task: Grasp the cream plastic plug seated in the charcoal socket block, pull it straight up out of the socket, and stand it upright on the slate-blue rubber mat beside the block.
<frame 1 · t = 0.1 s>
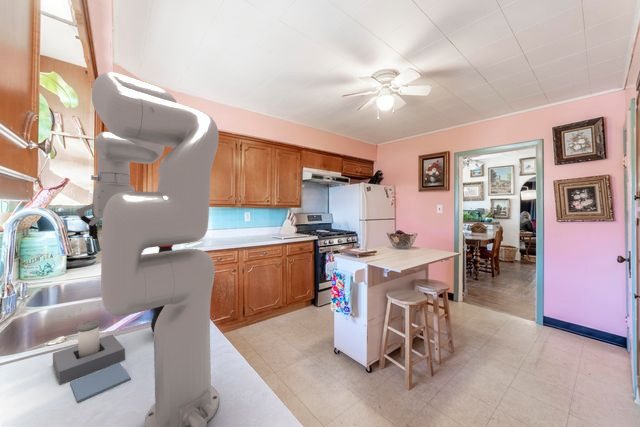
hand: (115, 237, 76), 31 cm above the countertop, tool pointing down, fingers open, 9 cm apart
mat: (100, 381, 58), on the countertop
plug: (89, 343, 65), in the socket block
socket block: (89, 362, 65), on the countertop
cola bottle: (166, 332, 81), on the countertop
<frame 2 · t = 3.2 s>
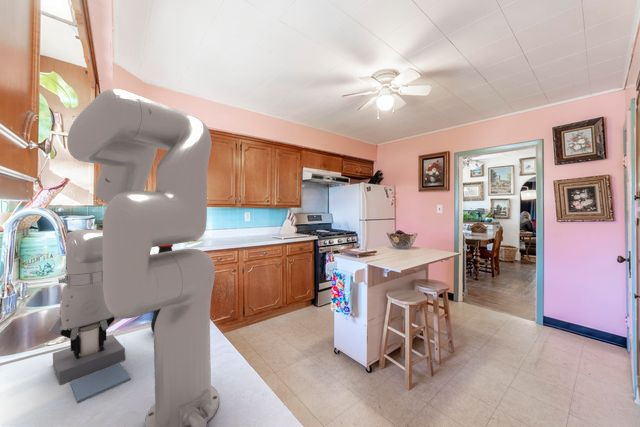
hand: (89, 347, 65), 4 cm above the countertop, tool pointing down, fingers closed on plug, 4 cm apart
plug: (89, 343, 65), in the socket block, touching gripper
everything else where it was.
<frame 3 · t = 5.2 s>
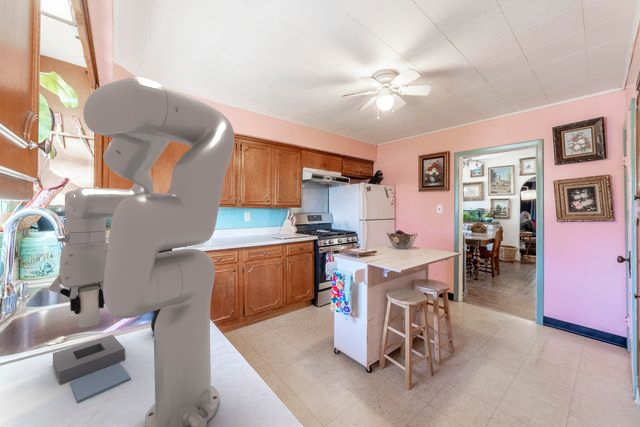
hand: (89, 309, 65), 14 cm above the countertop, tool pointing down, fingers closed on plug, 4 cm apart
plug: (88, 304, 65), point 15 cm above the countertop, touching gripper
everything else where it was.
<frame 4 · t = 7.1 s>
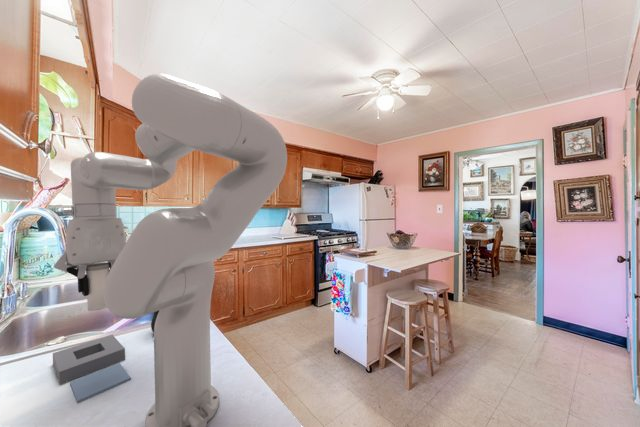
hand: (98, 291, 58), 21 cm above the countertop, tool pointing down, fingers closed on plug, 4 cm apart
plug: (98, 285, 58), point 22 cm above the countertop, touching gripper
everything else where it was.
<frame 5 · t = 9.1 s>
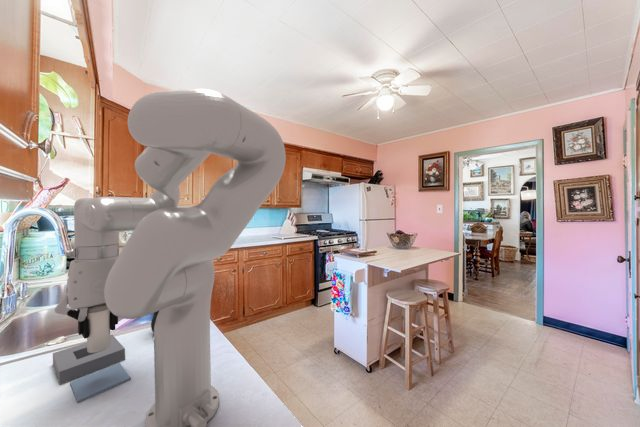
hand: (98, 331, 58), 12 cm above the countertop, tool pointing down, fingers closed on plug, 4 cm apart
plug: (98, 326, 58), point 13 cm above the countertop, touching gripper
everything else where it was.
when the fingers open (6 cm above the countertop, at t = 11.0 s): plug drops 1 cm, resting on mat.
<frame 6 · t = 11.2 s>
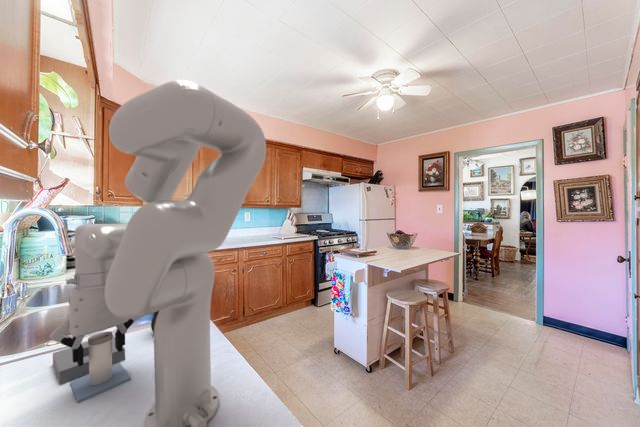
hand: (100, 355, 58), 6 cm above the countertop, tool pointing down, fingers open, 6 cm apart
plug: (100, 357, 58), on the mat
everything else where it was.
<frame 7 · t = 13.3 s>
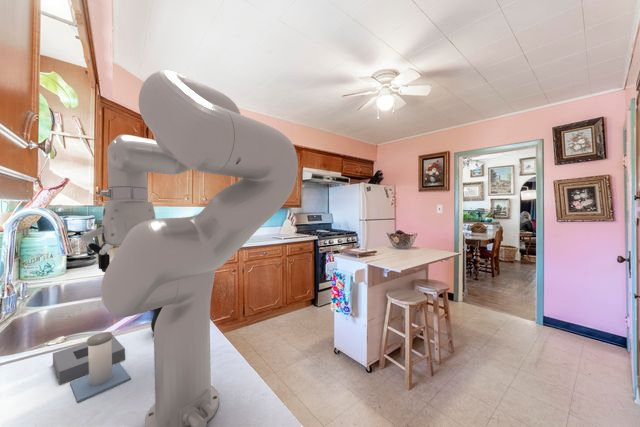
hand: (131, 267, 60), 26 cm above the countertop, tool pointing down, fingers open, 9 cm apart
nothing on the countertop moved.
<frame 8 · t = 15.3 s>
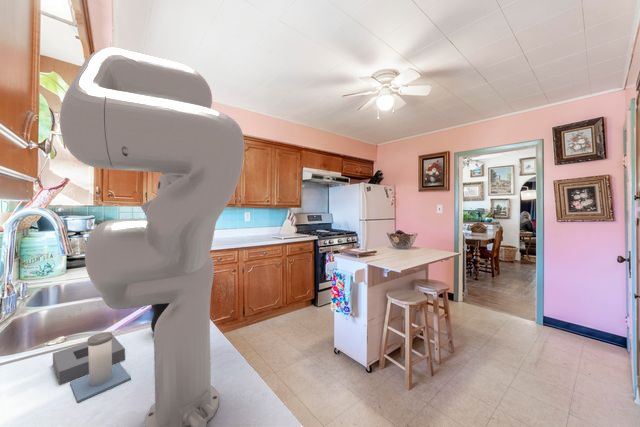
hand: (180, 236, 67), 32 cm above the countertop, tool pointing down, fingers open, 9 cm apart
nothing on the countertop moved.
at the end: plug 0.0 cm off-centre on the mat, point 5.5 cm above the mat's base; plug tilted 0°; the gripper is holding nothing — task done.
